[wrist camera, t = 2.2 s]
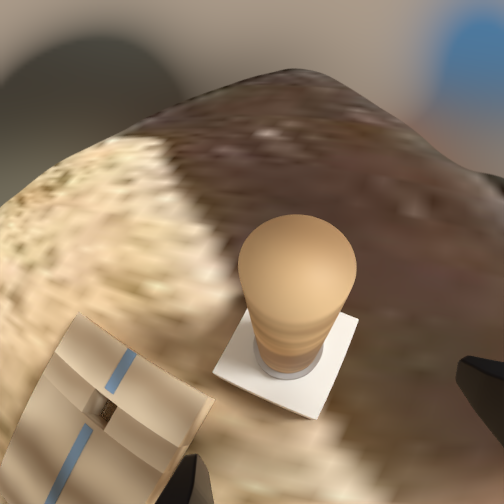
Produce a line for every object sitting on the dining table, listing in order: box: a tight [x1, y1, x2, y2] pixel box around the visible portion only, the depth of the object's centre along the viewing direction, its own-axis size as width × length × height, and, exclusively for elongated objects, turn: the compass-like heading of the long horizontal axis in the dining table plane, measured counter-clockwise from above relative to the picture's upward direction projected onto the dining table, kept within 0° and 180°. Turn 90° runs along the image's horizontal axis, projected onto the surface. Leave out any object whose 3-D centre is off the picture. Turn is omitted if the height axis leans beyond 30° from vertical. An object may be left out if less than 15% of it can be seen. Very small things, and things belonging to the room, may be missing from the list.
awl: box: [238, 215, 356, 380], centre depth 15 cm, size 4×4×13 cm
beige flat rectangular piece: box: [0, 312, 216, 504], centre depth 15 cm, size 20×12×3 cm, turn 153°
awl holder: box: [212, 308, 359, 420], centre depth 19 cm, size 7×7×2 cm
